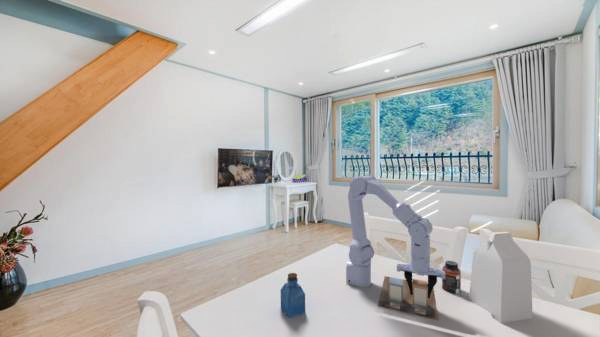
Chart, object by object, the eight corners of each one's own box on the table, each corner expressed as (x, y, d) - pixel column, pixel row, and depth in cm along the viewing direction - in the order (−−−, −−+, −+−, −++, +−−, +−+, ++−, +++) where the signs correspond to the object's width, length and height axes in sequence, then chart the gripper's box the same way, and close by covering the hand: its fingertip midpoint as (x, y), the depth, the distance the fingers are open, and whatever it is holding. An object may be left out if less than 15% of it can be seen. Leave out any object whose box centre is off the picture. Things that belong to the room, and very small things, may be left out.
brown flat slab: (377, 308, 83) (377, 300, 83) (384, 278, 104) (384, 271, 104) (438, 323, 76) (438, 313, 76) (432, 287, 97) (433, 279, 96)
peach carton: (412, 298, 86) (412, 278, 86) (427, 301, 84) (427, 281, 84) (412, 305, 82) (412, 285, 81) (427, 309, 80) (428, 288, 79)
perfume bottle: (288, 317, 79) (287, 281, 79) (280, 307, 85) (280, 273, 84) (305, 312, 82) (304, 276, 82) (296, 302, 88) (296, 269, 87)
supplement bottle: (463, 297, 90) (463, 266, 89) (445, 295, 91) (445, 265, 90) (456, 288, 95) (456, 259, 95) (439, 287, 97) (440, 258, 96)
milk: (497, 297, 89) (499, 226, 88) (532, 318, 78) (535, 236, 77) (468, 301, 87) (470, 228, 86) (500, 323, 76) (502, 239, 74)
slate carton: (389, 295, 89) (389, 277, 89) (403, 298, 87) (403, 279, 87) (388, 302, 85) (388, 283, 85) (402, 306, 83) (402, 285, 83)
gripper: (396, 256, 82) (396, 296, 82) (446, 263, 76) (446, 306, 76) (397, 249, 88) (397, 286, 89) (444, 255, 82) (443, 295, 83)
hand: (419, 295), depth 83 cm, fingers closed on peach carton, 4 cm apart
